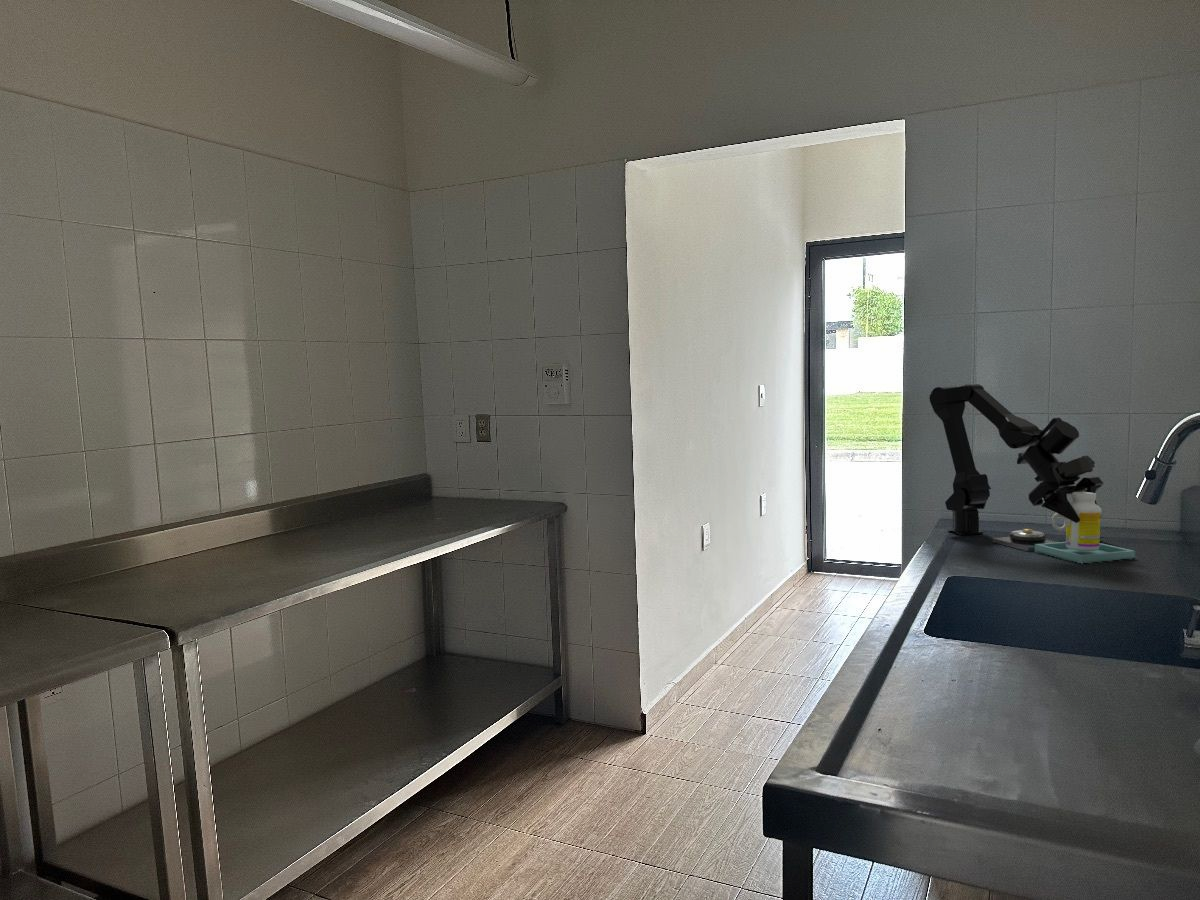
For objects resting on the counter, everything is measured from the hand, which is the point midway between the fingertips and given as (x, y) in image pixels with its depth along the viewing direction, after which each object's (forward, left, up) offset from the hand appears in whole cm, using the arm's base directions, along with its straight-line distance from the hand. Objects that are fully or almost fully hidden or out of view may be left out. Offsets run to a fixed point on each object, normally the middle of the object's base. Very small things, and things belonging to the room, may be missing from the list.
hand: (1088, 520), depth 192 cm
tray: (-1, 0, -8) cm, 8 cm away
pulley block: (-15, -3, -8) cm, 18 cm away
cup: (-16, +12, -8) cm, 22 cm away
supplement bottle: (-1, 0, -7) cm, 7 cm away
